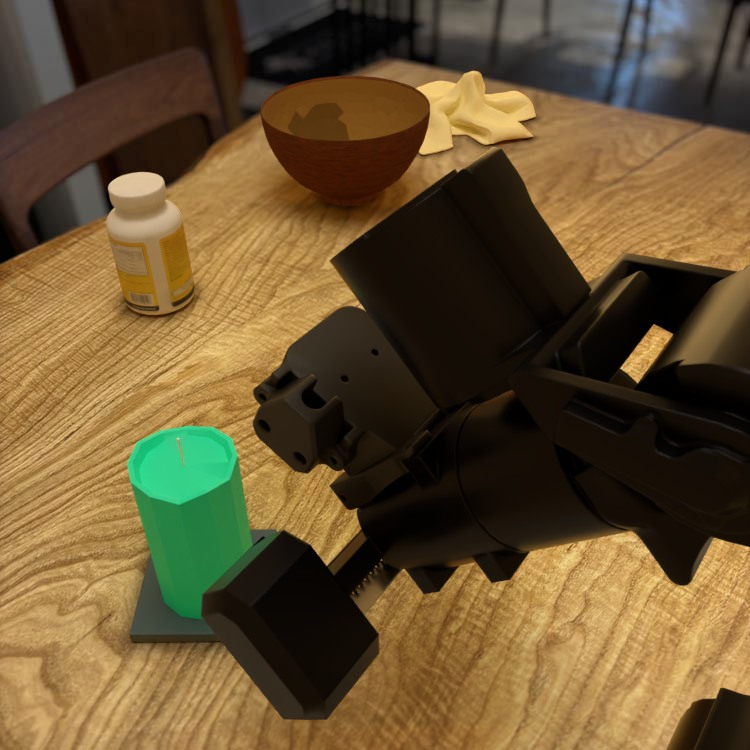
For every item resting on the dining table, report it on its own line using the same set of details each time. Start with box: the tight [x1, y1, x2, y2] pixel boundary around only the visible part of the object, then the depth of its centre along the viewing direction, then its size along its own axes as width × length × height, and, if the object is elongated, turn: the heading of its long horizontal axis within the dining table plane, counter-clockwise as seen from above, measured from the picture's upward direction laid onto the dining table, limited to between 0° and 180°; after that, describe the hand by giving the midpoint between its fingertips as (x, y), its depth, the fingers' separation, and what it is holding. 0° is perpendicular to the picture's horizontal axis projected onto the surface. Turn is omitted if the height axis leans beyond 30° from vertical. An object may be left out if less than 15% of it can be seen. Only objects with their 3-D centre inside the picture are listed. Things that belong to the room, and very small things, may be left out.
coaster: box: [128, 528, 278, 643], centre depth 53 cm, size 8×8×1 cm
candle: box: [126, 425, 253, 620], centre depth 49 cm, size 6×6×12 cm
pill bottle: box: [105, 171, 196, 316], centre depth 75 cm, size 6×6×12 cm
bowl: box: [260, 75, 430, 207], centre depth 92 cm, size 18×18×10 cm
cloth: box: [414, 70, 537, 156], centre depth 108 cm, size 22×19×6 cm
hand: (302, 537), depth 43 cm, fingers open, 9 cm apart
